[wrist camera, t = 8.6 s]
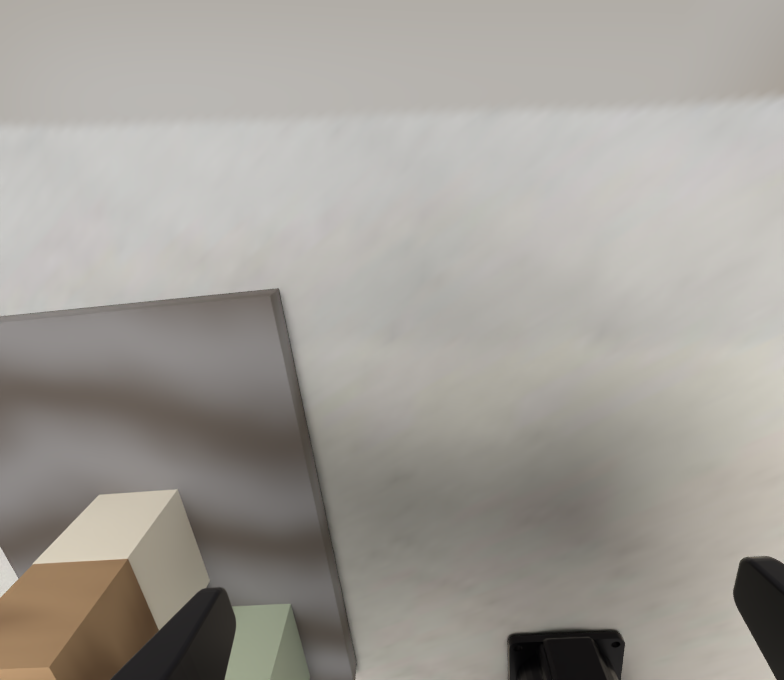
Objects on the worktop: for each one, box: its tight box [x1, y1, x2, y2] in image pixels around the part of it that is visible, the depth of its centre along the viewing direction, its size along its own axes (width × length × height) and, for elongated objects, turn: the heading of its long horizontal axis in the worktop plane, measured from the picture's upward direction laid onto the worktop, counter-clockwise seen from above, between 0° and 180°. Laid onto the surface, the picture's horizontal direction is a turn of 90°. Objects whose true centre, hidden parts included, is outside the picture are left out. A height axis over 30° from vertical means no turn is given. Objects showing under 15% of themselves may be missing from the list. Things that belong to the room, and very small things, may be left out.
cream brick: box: [33, 489, 210, 630], centre depth 20 cm, size 6×4×4 cm, turn 6°
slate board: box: [0, 289, 357, 680], centre depth 22 cm, size 24×17×1 cm
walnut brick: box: [0, 559, 159, 680], centre depth 16 cm, size 6×4×4 cm, turn 6°
